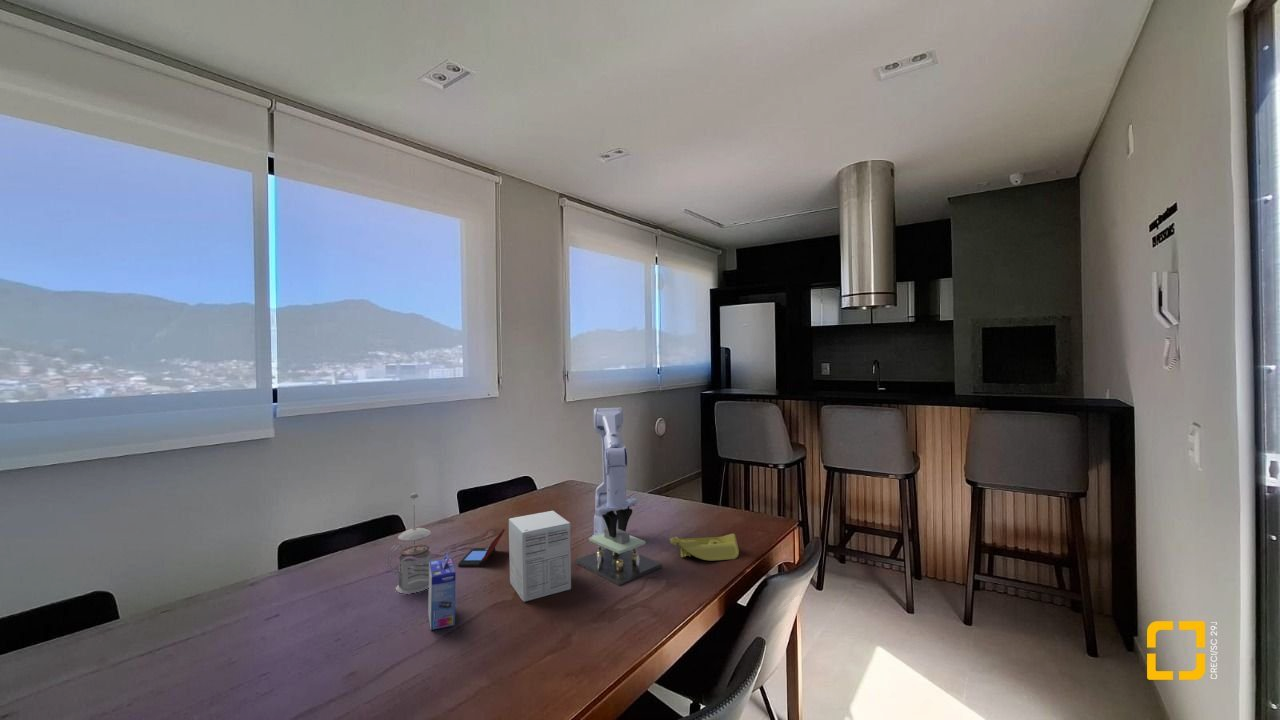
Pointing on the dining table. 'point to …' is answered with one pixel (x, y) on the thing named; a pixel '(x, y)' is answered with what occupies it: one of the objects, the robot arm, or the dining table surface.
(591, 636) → the dining table surface
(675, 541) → the plastic component
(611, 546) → the board
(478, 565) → the handheld game console
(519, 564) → the supplement box
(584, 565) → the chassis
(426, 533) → the french press
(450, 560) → the ink cartridge box
